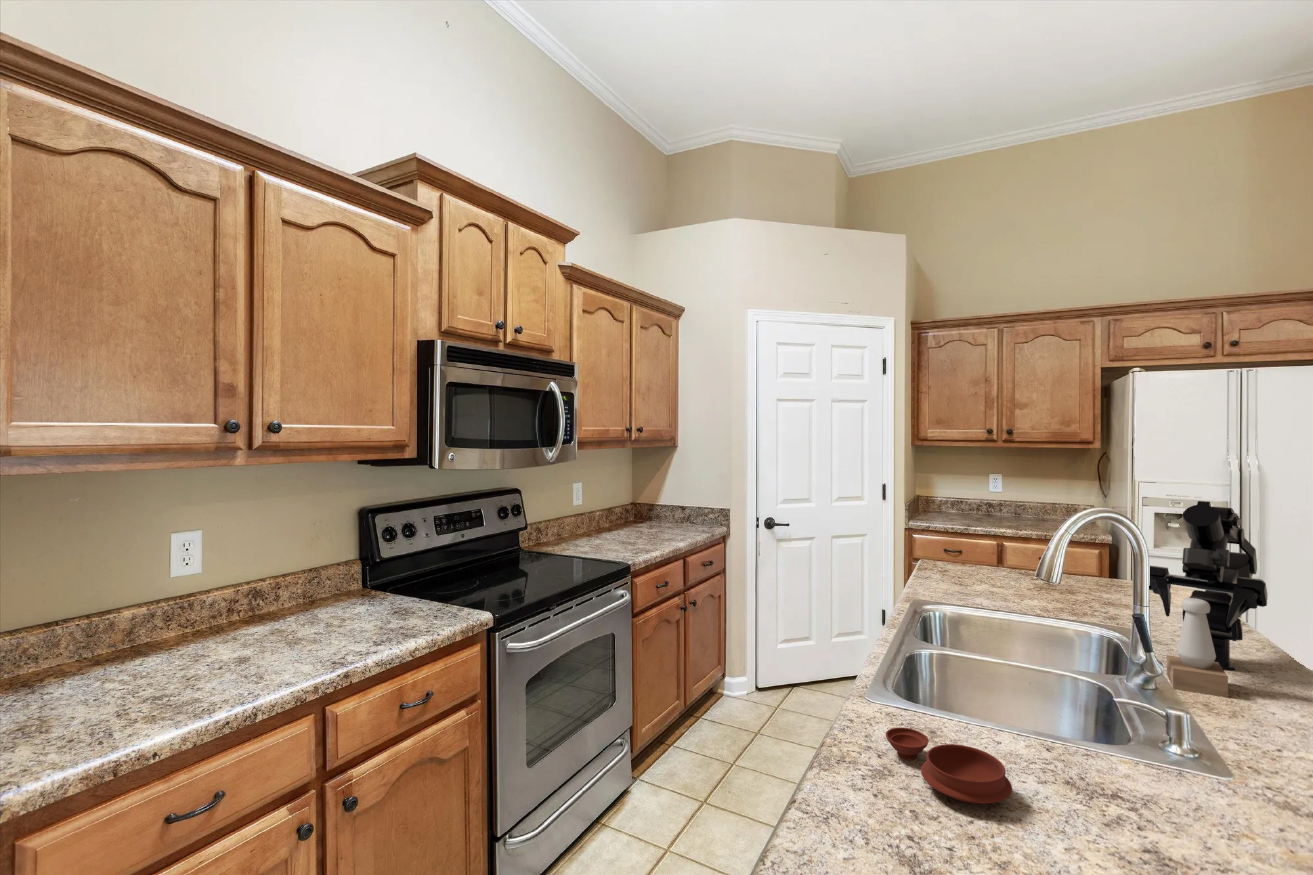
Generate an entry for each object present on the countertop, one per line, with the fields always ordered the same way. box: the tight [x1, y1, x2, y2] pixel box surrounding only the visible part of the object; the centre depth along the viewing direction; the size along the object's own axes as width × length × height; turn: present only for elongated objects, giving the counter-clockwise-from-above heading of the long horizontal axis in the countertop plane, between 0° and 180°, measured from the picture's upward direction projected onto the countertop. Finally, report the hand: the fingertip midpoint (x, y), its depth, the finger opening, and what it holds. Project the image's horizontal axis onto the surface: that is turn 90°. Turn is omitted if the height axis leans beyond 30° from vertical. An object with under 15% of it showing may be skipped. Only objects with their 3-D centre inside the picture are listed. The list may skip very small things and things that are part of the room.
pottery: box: [885, 727, 1013, 805], centre depth 93 cm, size 12×20×4 cm, turn 23°
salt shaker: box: [1176, 597, 1216, 669], centre depth 123 cm, size 6×6×13 cm
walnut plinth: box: [1166, 654, 1229, 698], centre depth 123 cm, size 8×8×4 cm
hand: (1196, 620), depth 123 cm, fingers open, 9 cm apart
